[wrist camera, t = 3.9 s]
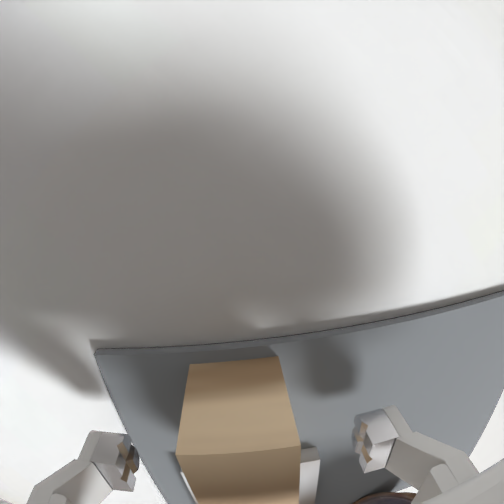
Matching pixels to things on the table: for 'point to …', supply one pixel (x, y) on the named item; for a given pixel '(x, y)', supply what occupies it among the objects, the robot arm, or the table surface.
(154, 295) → the table surface
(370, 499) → the tin
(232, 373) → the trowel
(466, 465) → the robot arm
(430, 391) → the mat
